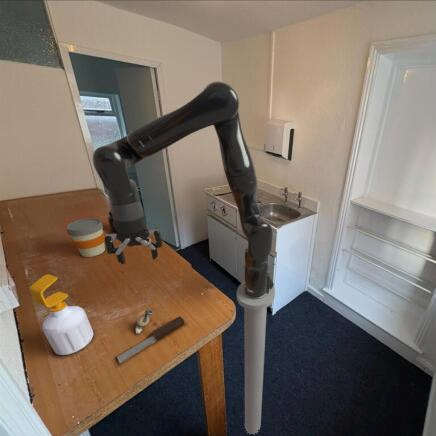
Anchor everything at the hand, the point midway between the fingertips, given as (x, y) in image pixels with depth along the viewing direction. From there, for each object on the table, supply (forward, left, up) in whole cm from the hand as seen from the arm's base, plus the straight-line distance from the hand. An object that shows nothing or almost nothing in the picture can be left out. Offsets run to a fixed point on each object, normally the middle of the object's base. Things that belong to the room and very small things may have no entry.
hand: (139, 260), depth 75 cm
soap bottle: (+20, +6, -22) cm, 31 cm away
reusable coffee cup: (+28, -48, -22) cm, 60 cm away
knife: (-2, +13, -22) cm, 26 cm away
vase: (+1, +7, -22) cm, 23 cm away
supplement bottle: (+21, -68, -22) cm, 75 cm away
